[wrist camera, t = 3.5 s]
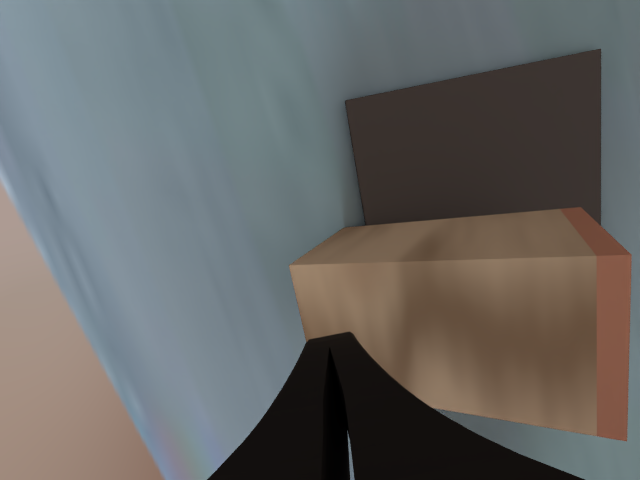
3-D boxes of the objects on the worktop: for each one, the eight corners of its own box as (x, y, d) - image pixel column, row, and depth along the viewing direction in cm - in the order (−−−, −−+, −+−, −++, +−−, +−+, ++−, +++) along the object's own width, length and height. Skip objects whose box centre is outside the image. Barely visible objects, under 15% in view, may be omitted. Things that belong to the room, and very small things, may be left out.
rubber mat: (595, 371, 18) (600, 374, 18) (396, 409, 18) (397, 413, 18) (594, 50, 14) (600, 48, 14) (344, 101, 15) (345, 100, 14)
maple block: (361, 322, 17) (582, 335, 13) (316, 387, 13) (626, 441, 8) (343, 227, 16) (580, 207, 12) (288, 265, 12) (631, 254, 7)
